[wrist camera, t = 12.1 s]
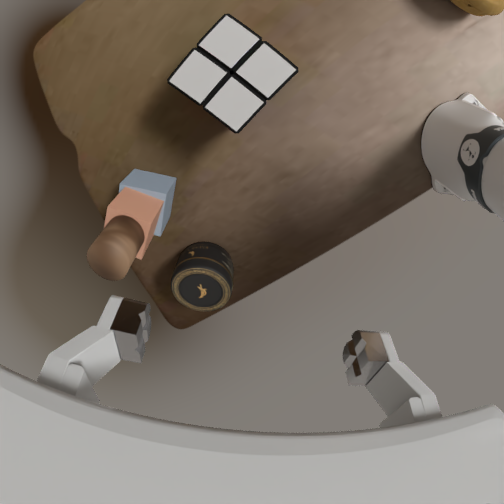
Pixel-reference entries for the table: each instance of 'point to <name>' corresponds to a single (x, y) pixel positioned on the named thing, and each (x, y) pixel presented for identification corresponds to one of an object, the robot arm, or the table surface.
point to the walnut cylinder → (116, 248)
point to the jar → (203, 277)
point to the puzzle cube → (232, 73)
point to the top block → (137, 212)
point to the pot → (480, 6)
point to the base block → (153, 191)
